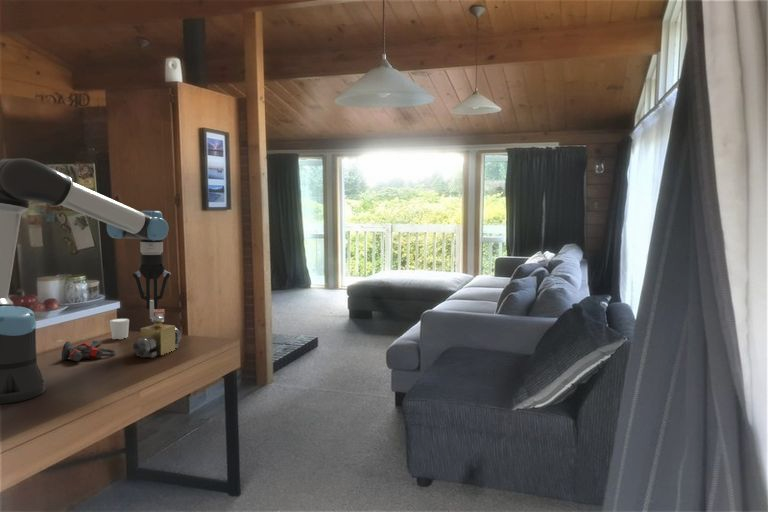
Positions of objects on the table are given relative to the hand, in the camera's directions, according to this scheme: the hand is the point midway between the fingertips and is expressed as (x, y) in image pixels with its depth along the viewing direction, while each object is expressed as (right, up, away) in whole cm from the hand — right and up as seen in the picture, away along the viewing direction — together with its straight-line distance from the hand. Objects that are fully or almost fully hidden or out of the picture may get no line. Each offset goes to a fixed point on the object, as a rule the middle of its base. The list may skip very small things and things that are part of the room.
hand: (152, 318), depth 202 cm
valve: (-16, -12, -10) cm, 22 cm away
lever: (+3, 0, -3) cm, 4 cm away
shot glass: (-18, -9, +12) cm, 23 cm away
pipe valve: (+5, -11, -7) cm, 14 cm away
